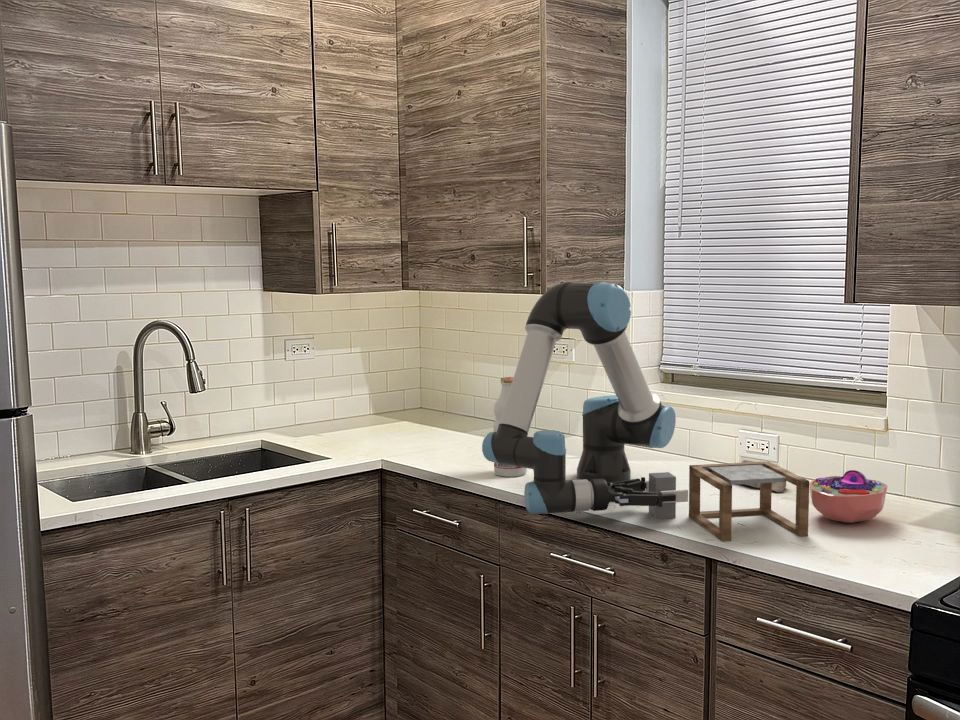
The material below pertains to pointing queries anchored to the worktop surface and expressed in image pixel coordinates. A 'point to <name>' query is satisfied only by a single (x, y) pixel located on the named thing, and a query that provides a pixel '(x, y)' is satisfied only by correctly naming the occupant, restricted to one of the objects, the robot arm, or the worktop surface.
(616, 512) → the worktop surface
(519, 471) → the fruit juice
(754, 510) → the stand
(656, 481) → the basalt block
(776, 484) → the concrete fragment
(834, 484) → the cell model
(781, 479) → the trapdoor flap
